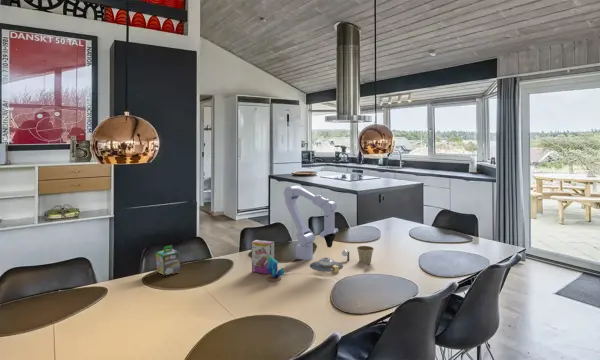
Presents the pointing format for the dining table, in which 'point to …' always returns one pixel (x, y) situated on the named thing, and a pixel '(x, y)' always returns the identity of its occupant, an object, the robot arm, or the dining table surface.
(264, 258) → the candy bar box
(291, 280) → the dining table surface
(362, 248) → the flower pot
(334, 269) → the turntable
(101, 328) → the dining table surface
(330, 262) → the cover
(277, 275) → the gemstone
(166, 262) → the chalk box
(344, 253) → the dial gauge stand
